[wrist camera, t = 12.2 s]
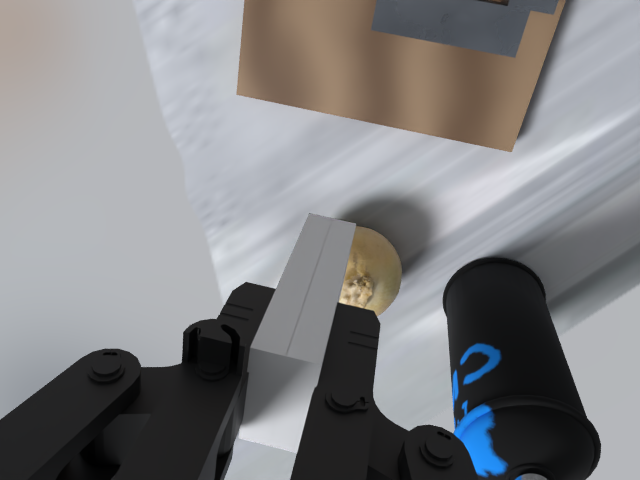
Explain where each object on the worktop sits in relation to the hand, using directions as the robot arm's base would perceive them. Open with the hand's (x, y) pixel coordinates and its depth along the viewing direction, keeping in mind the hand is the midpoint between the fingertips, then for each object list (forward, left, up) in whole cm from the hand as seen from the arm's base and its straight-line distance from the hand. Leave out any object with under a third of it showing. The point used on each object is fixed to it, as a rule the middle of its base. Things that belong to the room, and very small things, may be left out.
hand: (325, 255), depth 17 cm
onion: (-1, +14, -25) cm, 28 cm away
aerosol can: (-13, +15, -25) cm, 32 cm away
